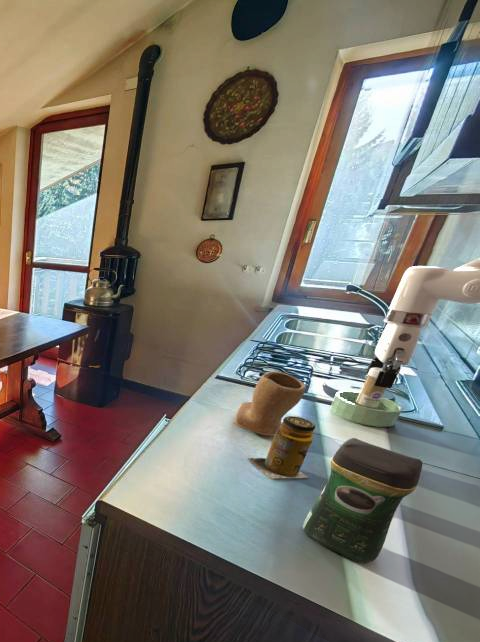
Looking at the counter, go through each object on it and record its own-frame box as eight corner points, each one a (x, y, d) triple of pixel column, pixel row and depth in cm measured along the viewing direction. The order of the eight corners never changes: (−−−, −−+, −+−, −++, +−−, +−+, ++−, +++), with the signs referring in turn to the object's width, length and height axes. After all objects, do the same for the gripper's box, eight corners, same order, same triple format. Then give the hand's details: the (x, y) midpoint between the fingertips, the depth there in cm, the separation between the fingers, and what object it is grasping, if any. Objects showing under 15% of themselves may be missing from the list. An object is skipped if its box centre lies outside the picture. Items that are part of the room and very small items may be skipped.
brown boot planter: (284, 445, 94) (306, 389, 88) (228, 428, 102) (245, 375, 96) (291, 423, 105) (311, 371, 99) (239, 409, 112) (255, 360, 106)
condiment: (308, 478, 83) (330, 429, 78) (270, 479, 82) (289, 430, 77) (281, 458, 89) (300, 412, 84) (246, 459, 89) (262, 413, 84)
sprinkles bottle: (360, 418, 106) (381, 372, 101) (346, 410, 110) (365, 366, 105) (377, 418, 106) (399, 373, 101) (362, 411, 110) (383, 367, 105)
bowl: (387, 414, 110) (395, 398, 108) (399, 433, 100) (408, 416, 98) (326, 402, 117) (333, 386, 115) (332, 419, 107) (339, 403, 105)
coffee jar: (382, 550, 65) (436, 456, 57) (367, 572, 61) (423, 474, 53) (311, 515, 72) (351, 429, 65) (293, 533, 68) (334, 443, 61)
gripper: (440, 327, 89) (406, 395, 95) (417, 313, 102) (389, 374, 109) (394, 322, 93) (365, 388, 99) (378, 309, 106) (353, 368, 112)
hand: (377, 380), depth 104 cm, fingers open, 9 cm apart
